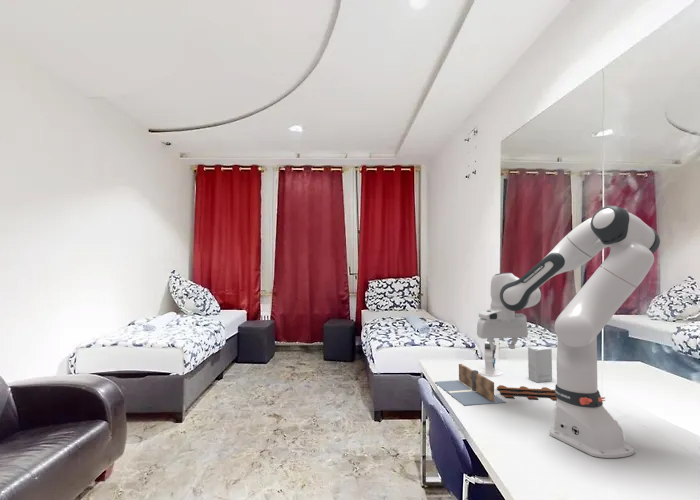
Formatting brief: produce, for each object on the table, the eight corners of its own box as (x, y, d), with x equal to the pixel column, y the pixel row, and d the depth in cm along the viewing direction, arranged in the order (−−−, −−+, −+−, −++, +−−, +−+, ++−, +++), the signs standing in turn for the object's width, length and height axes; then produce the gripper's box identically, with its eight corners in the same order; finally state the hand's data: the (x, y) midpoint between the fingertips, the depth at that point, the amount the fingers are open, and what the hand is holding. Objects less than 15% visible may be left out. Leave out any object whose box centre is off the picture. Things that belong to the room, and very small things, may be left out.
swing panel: (494, 401, 148) (494, 382, 148) (491, 401, 147) (491, 382, 148) (478, 390, 159) (478, 373, 160) (475, 390, 159) (475, 373, 159)
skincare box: (543, 377, 179) (543, 345, 179) (553, 381, 173) (552, 348, 174) (527, 379, 177) (527, 346, 178) (536, 383, 171) (536, 349, 172)
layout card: (505, 402, 148) (505, 401, 148) (464, 405, 145) (464, 404, 145) (470, 380, 175) (470, 379, 175) (434, 382, 172) (434, 381, 172)
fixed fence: (479, 391, 160) (479, 371, 160) (473, 391, 159) (473, 372, 160) (462, 380, 174) (462, 362, 174) (457, 380, 174) (457, 362, 174)
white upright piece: (501, 377, 179) (501, 345, 180) (475, 374, 184) (475, 342, 184) (503, 371, 190) (502, 340, 190) (479, 368, 195) (478, 338, 195)
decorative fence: (565, 403, 149) (551, 390, 164) (565, 398, 149) (551, 386, 164) (502, 399, 153) (494, 387, 168) (502, 395, 153) (494, 383, 168)
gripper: (521, 312, 158) (521, 346, 158) (474, 313, 154) (475, 348, 154) (531, 314, 152) (531, 349, 151) (483, 315, 148) (483, 352, 148)
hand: (502, 349), depth 153 cm, fingers open, 7 cm apart
